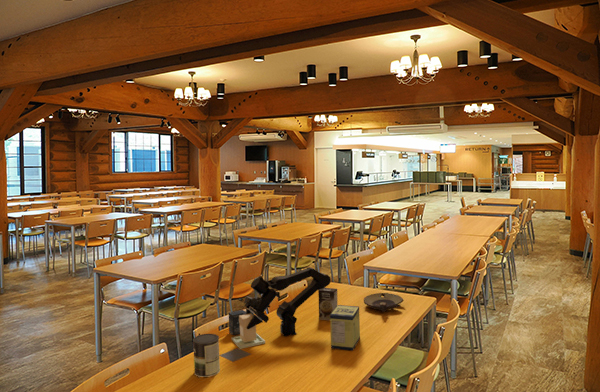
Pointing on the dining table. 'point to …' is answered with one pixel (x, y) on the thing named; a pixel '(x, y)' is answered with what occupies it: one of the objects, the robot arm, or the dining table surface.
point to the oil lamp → (383, 301)
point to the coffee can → (206, 355)
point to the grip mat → (235, 354)
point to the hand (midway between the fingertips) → (244, 326)
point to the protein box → (345, 327)
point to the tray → (248, 344)
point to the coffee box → (327, 302)
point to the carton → (246, 333)
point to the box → (235, 321)
